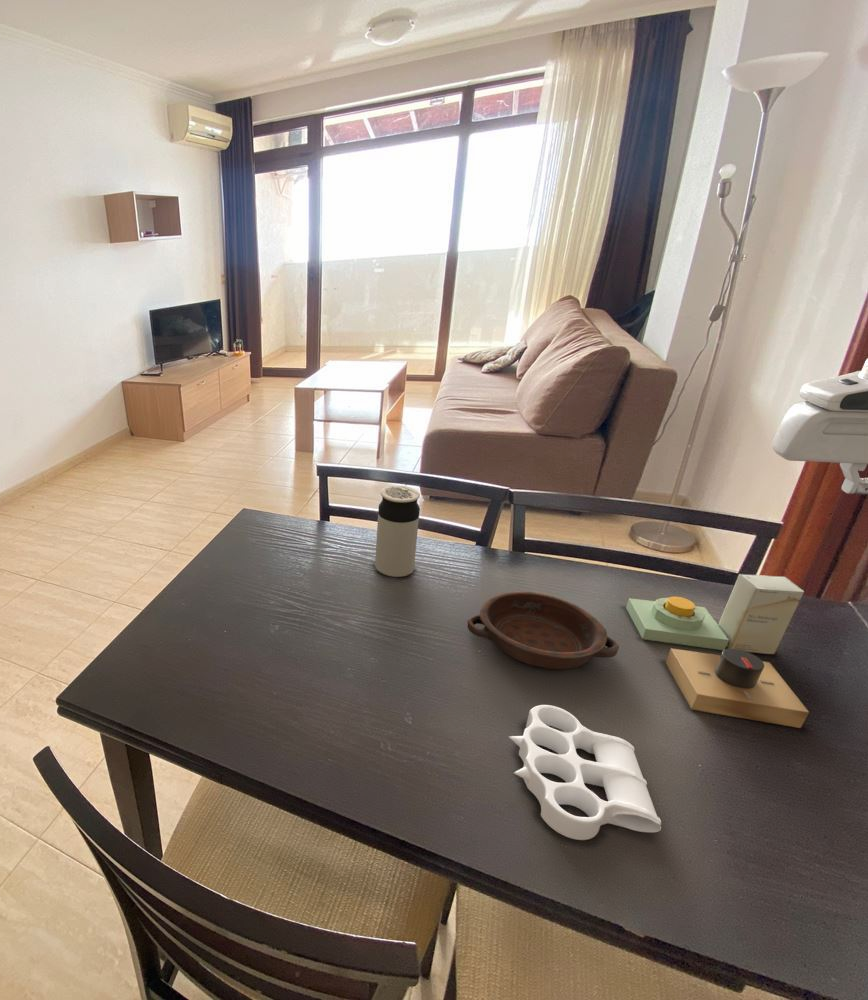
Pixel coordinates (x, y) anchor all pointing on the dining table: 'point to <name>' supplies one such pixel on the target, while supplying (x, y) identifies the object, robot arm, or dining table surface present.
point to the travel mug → (397, 531)
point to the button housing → (675, 625)
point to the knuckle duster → (583, 776)
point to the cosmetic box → (759, 612)
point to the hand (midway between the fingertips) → (858, 492)
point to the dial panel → (735, 691)
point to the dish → (542, 630)
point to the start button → (680, 606)
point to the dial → (739, 668)
